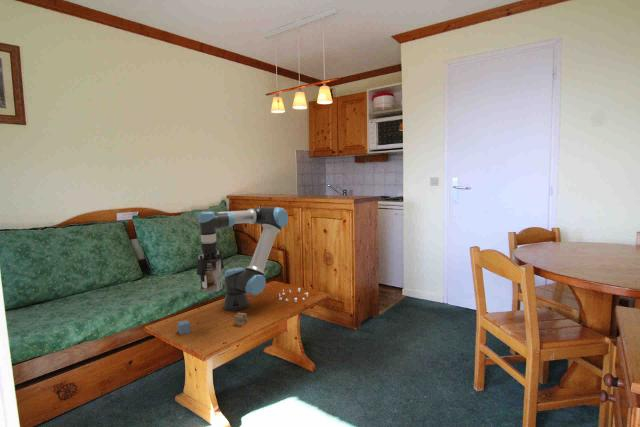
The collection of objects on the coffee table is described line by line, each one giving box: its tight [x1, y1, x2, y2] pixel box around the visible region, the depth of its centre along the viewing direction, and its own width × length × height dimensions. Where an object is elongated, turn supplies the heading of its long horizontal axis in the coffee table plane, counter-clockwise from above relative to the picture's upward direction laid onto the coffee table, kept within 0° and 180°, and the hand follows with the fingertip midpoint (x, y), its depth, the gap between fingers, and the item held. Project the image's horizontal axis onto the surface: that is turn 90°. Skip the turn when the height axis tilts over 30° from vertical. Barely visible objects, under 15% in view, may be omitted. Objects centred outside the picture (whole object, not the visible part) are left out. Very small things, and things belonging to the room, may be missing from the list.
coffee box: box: [200, 259, 223, 293], centre depth 191 cm, size 9×6×16 cm
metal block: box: [233, 312, 248, 327], centre depth 198 cm, size 5×5×5 cm
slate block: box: [176, 319, 192, 336], centre depth 190 cm, size 5×5×5 cm
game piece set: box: [278, 287, 309, 303], centre depth 237 cm, size 19×20×4 cm
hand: (211, 285), depth 192 cm, fingers closed on coffee box, 8 cm apart
